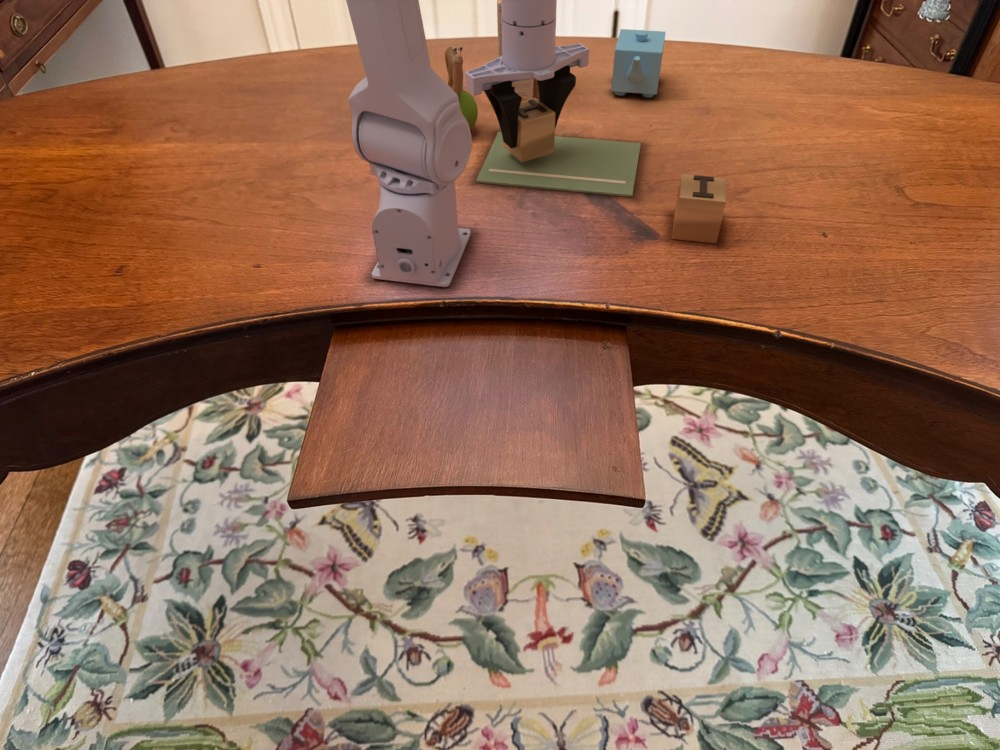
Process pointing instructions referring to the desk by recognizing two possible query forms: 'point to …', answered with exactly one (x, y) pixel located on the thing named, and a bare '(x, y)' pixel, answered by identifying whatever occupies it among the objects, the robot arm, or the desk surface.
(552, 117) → the tile
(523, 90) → the supplement box
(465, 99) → the snail figurine
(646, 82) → the teapot
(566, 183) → the word mat
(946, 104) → the desk surface
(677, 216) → the tile
